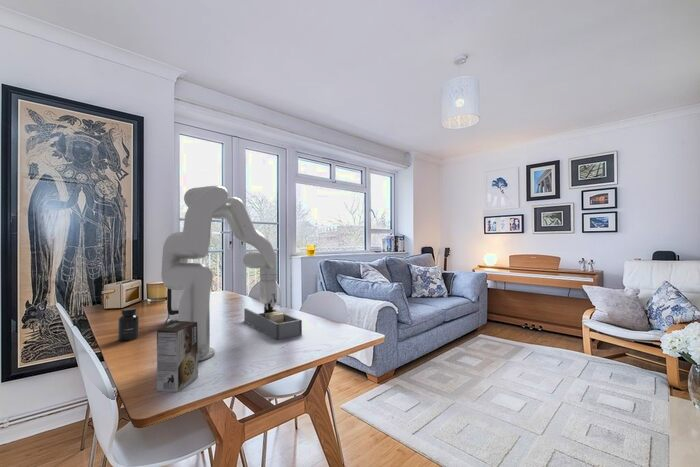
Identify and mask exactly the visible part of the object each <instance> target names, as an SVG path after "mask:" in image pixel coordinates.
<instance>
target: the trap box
mask: <svg viewBox="0 0 700 467" xmlns="http://www.w3.org/2000/svg"><path fill="white" fill-rule="evenodd" d="M243 311H244V312H243V313H244V315H243V316H244V317H243V318H244V322H245V323H248V324H249V325H250V326H253V327H254V328H255V329H258V330H259V331H261V332H263V333H265V334H266V335H268V336H269V337H271V338H273V339H275V340H277V341H279V340H284V339H288V338H292V337H297V336H301V335H303V332H302V331H303V328H302V327H303V324H302V323H303V322H302V319H300V318H297V317H295V316H293V315H290V314H287V313H286V312H283V311H280V310H277V309H275V308H273V312H277V311H278V312H280V313H283V314H284V323H279V324H278V323H276V322H274V321H272V320H270V319H267V318H265V309H264V308H263V312H259V313H257V312H256V311H253V310H251V309H249V308H244V310H243Z"/></svg>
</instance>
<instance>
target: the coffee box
mask: <svg viewBox="0 0 700 467" xmlns="http://www.w3.org/2000/svg"><path fill="white" fill-rule="evenodd" d="M198 377H199V361H198V334H197V322H189V321H174V322H173V323H171V324H170V323H169V324H167V325H165V326H163V327H160V328H158V329H157V330H156V391H157V392H173V393H179V392H180V391H182V390H183V389H184V388H185V387H187V386H189V385H190V384H191V383H192V382H193V381H194V380H196V379H198Z"/></svg>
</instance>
